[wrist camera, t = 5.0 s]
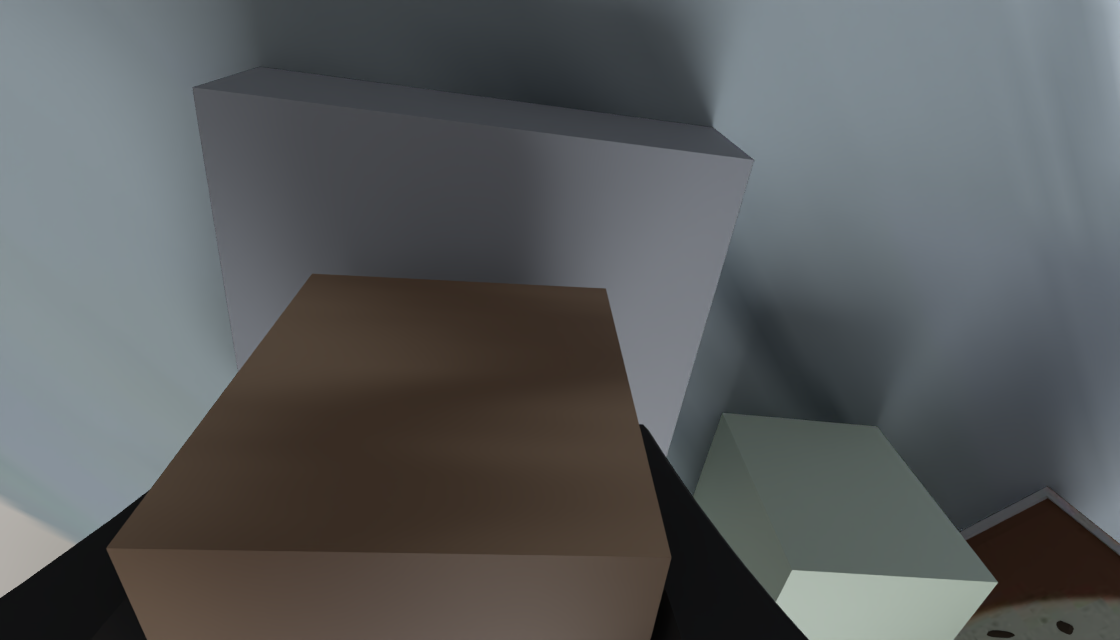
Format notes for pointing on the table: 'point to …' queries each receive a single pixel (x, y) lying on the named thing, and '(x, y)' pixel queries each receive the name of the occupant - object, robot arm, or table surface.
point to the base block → (471, 206)
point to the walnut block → (410, 477)
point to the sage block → (839, 530)
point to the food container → (1045, 574)
